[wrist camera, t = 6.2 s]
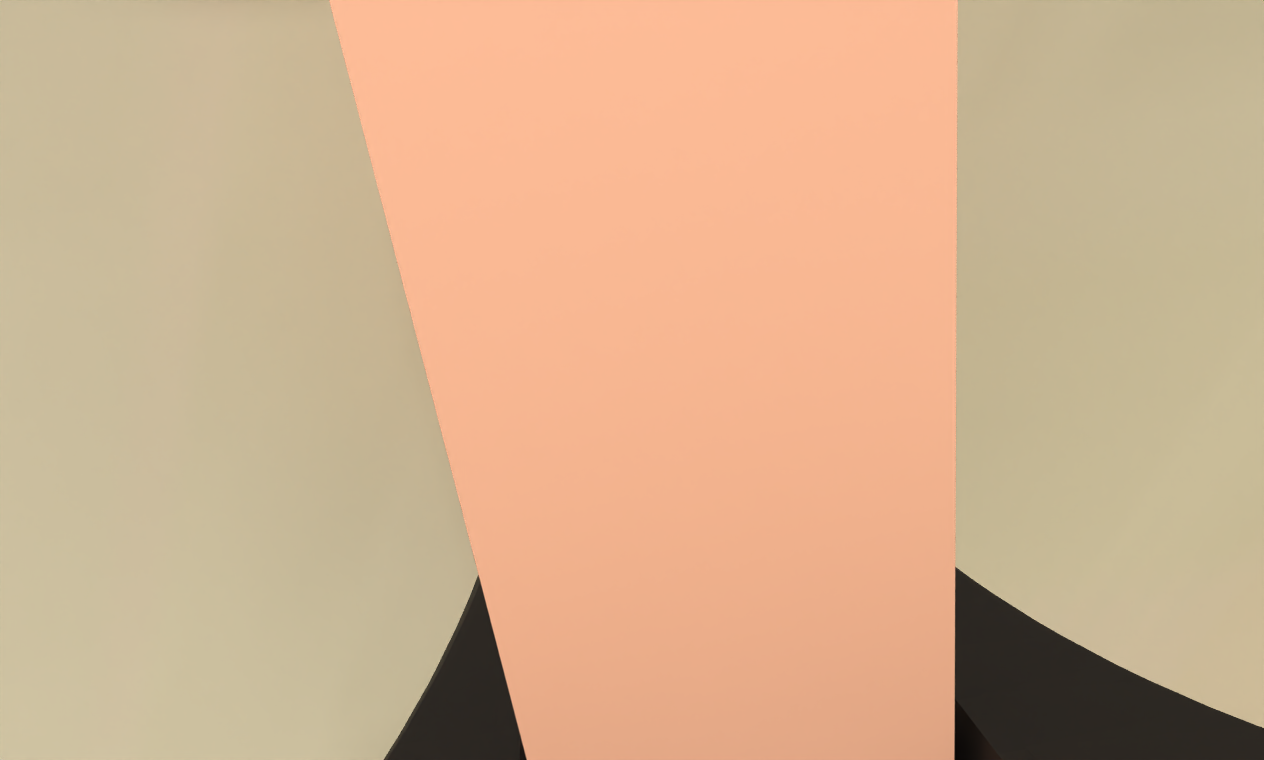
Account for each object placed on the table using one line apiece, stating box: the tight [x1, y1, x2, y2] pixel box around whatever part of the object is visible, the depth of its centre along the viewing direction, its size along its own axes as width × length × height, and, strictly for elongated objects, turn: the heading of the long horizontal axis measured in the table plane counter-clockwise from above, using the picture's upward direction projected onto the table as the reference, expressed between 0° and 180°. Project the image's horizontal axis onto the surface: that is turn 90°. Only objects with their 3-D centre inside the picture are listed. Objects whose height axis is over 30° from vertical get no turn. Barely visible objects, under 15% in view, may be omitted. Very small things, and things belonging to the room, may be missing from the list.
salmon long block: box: [329, 0, 958, 760], centre depth 9 cm, size 11×3×6 cm, turn 8°
